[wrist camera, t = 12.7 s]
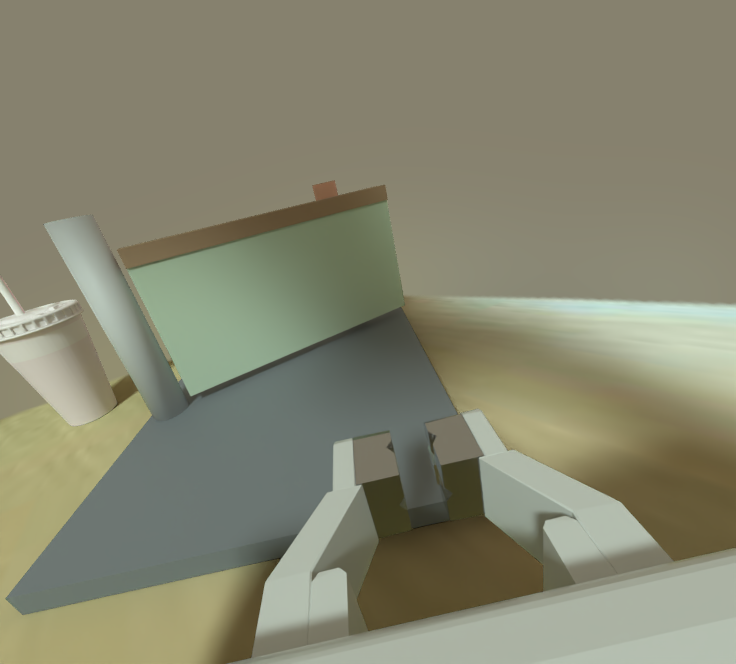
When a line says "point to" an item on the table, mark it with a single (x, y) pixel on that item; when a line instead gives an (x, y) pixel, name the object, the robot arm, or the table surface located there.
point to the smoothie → (57, 358)
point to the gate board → (229, 445)
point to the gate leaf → (267, 283)
